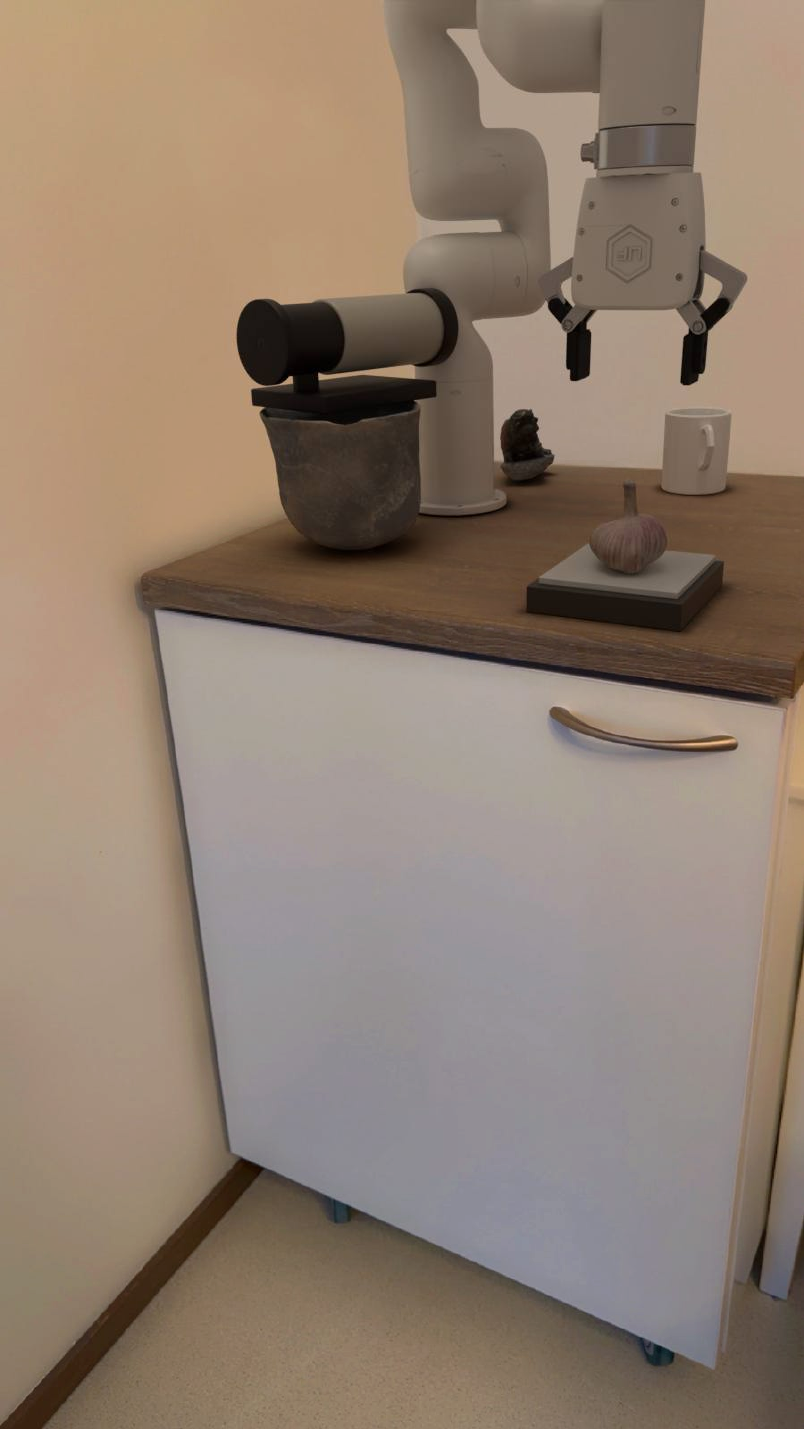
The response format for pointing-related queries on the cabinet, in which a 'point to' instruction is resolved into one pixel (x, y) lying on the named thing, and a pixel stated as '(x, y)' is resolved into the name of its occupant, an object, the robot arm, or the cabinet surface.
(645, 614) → the scale
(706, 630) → the cabinet surface
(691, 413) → the mug
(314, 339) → the light fixture
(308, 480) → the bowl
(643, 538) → the garlic bulb
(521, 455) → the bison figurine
